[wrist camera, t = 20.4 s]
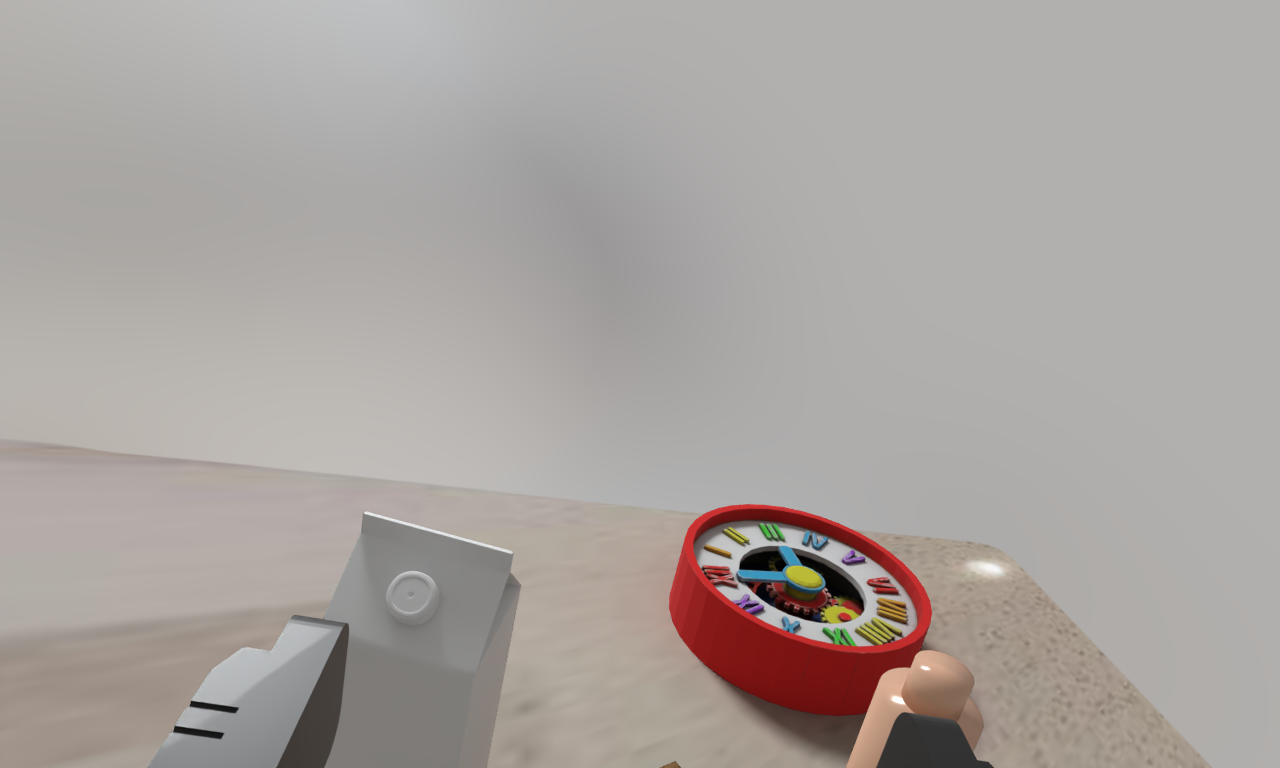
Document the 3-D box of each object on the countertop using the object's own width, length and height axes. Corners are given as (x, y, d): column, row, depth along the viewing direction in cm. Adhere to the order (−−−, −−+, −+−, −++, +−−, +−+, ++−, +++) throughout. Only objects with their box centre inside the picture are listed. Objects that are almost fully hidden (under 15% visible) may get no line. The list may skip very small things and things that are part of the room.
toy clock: (983, 656, 63) (727, 649, 58) (956, 719, 65) (707, 717, 60) (862, 512, 81) (658, 496, 76) (844, 565, 83) (644, 553, 78)
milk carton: (360, 770, 50) (396, 478, 43) (479, 806, 49) (534, 515, 42) (295, 877, 43) (325, 551, 36) (432, 919, 42) (488, 596, 36)
